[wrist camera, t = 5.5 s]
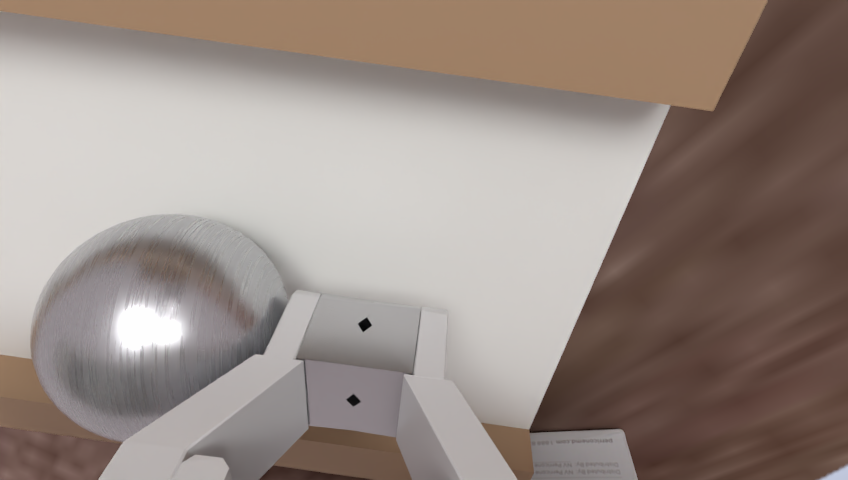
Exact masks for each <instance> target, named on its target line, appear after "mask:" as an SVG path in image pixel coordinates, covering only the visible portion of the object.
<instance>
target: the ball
mask: <svg viewBox="0 0 848 480" xmlns="http://www.w3.org/2000/svg"><path fill="white" fill-rule="evenodd" d="M288 302H289V301H288V297H287V293H286V289H285V286H284V284H283V281H282V279H281V276H280V274H279V272H278V271H277V269H276V267H275V266H274V264H273V263H272V261H271V260H270V259H269V257H268V256H267V255H266V254H265V253H264V251H263V250H262V249H261V248H260V247H258V246H257V245H256V244H255V243H254V242H253V241H252V240H250V239H249V238H248V237H246V236H245V235H243V234H242V233H240V232H239V231H237V230H235V229H233V228H231V227H229V226H227V225H225V224H222V223H219V222H217V221H214V220H211V219H207V218H203V217H198V216H194V215H184V214H159V215H151V216H145V217H140V218H136V219H132V220H129V221H126V222H122V223H119V224H117V225H114V226H112V227H110V228H108V229H106V230H104V231H102V232H100V233H98V234H96V235H94V236H93V237H91V238H90V239H88V240H87V241H85V242H84V243H82V244H81V245H80V246H78V247H77V248H76V249H75V250H74V251H73V252H72V253H71V254H69V255H68V256H67V257H66V258H65V259H64V260H63V261H62V262H61V263H60V265H59V266H58V267H57V268H56V270H55V271H54V272H53V274H52V275H51V277H50V278H49V280H48V281H47V283H46V284H45V286H44V288H43V290H42V292H41V294H40V296H39V299H38V301H37V304H36V307H35V311H34V314H33V319H32V324H31V334H30V349H31V357H32V361H33V365H34V368H35V371H36V374H37V376H38V379H39V382H40V384H41V386H42V388H43V389H44V391H45V393H46V394H47V395H48V397H49V398H50V400H51V401H52V402H53V403H54V405H55V406H56V407H57V408H58V409H59V410H60V411H61V412H62V413H63V414H64V415H66V416H67V417H68V418H69V419H70V420H72V421H73V422H74V423H76V424H77V425H79V426H81V427H82V428H84V429H86V430H88V431H90V432H92V433H94V434H96V435H99V436H102V437H105V438H107V439H110V440H114V441H119V442H124V441H125V440H127V439H128V438H130V437H131V436H133V435H134V434H136V433H137V432H139V431H140V430H142V429H143V428H145V427H146V426H148V425H149V424H151V423H152V422H154V421H155V420H157V419H158V418H160V417H161V416H163V415H164V414H166V413H167V412H169V411H170V410H172V409H173V408H175V407H176V406H178V405H179V404H181V403H182V402H184V401H185V400H187V399H188V398H190V397H191V396H193V395H194V394H196V393H197V392H199V391H200V390H202V389H203V388H205V387H206V386H208V385H209V384H211V383H212V382H214V381H215V380H217V379H218V378H220V377H221V376H223V375H224V374H226V373H227V372H229V371H230V370H232V369H233V368H235V367H236V366H238V365H239V364H241V363H242V362H244V361H245V360H247V359H248V358H250V357H251V356H253V355H254V354H259V355H263V354H264V352H265V350H266V348H267V346H268V344H269V342H270V340H271V337H272V335H273V333H274V331H275V329H276V327H277V325H278V323H279V321H280V318H281V316H282V314H283V312H284V310H285V308H286V306H287V304H288Z"/></svg>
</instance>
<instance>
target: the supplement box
mask: <svg viewBox="0 0 848 480" xmlns="http://www.w3.org/2000/svg"><path fill="white" fill-rule="evenodd" d="M530 441H531V450H532V459H533V468H534V474H533V476H532V478H531V480H638V478H637V475H636V472H635V468H634V465H633V461H632V458H631V454H630V451H629V448H628V445H627V441H626V437H625V433H624V431H623V430H621V429H605V430H582V431H561V432H540V433H530Z"/></svg>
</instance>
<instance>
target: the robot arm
mask: <svg viewBox="0 0 848 480" xmlns="http://www.w3.org/2000/svg"><path fill="white" fill-rule="evenodd" d="M420 311H421V312H420ZM448 316H449V313H448V311H447V310H446V309H437V308H429V307H422V308H421V307H419V306H411V305H403V304H395V303H387V302H379V301H370V300H363V299H357V298H351V297H344V296H338V295H332V294H325V293H323V294H321V293H315V292H309V291H303V290H296V291H295V292H294V293H293V294H292V295H291V297H290V300H289V302H288V304H287V306H286V308H285V310H284V312H283V314H282V316H281V318H280V321H279V323H278V325H277V327H276V329H275V331H274V333H273V335H272V337H271V340H270V342H269V344H268V346H267V348H266V350H265V352H264V354H263V355H259V354H254V355H253V356H251V357H250V358H248V359H247V360H245V361H244V362H242V363H241V364H239V365H238V366H236V367H235V368H233V369H232V370H230V371H229V372H227V373H226V374H224V375H223V376H221V377H220V378H218V379H217V380H215V381H214V382H212V383H211V384H209V385H208V386H206V387H205V388H203V389H202V390H200V391H199V392H197V393H196V394H194V395H193V396H191V397H190V398H188V399H187V400H185V401H184V402H182V403H181V404H179V405H178V406H176V407H175V408H173V409H172V410H170V411H169V412H167V413H166V414H164V415H163V416H161V417H160V418H158V419H157V420H155V421H154V422H152V423H151V424H149V425H148V426H146V427H145V428H143V429H142V430H140V431H139V432H137V433H136V434H134V435H133V436H131V437H130V438H128V439H127V440H125V441H124V442H123V443H122V445H121V446H120V448H119V449H118V451H117V452H116V454H115V455H114V457H113V458H112V460H111V461H110V463H109V464H108V466H107V467H106V469H105V470H104V472H103V473H102V475H101V476H100V478H99V479H98V480H259V479H260V478H261V477H262V476H263V475H264V474H265V473H266V472H267V471H268V470H269V469H270V468H271V467H272V466H273V465H274V464H275V463H276V462H277V460H278V459H279V458H280V457H281V456H282V455H283V454H284V453H285V452H286V451H287V450H288V449H289V448H290V447H291V446H292V445H293V444H294V443H295V442H296V441H297V440H298V439H299V438H300V437H301V436H302V435H303V434H304V433H305V432H306V431H307V430H308V426H316V427H326V428H335V429H344V430H353V431H359V432H365V433H371V434H378V435H384V436H390V437H396V441H397V444H398V446H399V449H400V451H401V454H402V456H403V458H404V461H405V463H406V466H407V468H408V471H409V473H410V476H411V478H412V480H517V478H516V476H515V475H514V473H513V472H512V470H511V469H510V467H509V466H508V464H507V463H506V461H505V460H504V458H503V456H502V455H501V453H500V452H499V450H498V449H497V447H496V446H495V444H494V443H493V441H492V440H491V438H490V436H489V435H488V433H487V432H486V430H485V429H484V427H483V426H482V424H481V423H480V421H479V420H478V418H477V416H476V415H475V413H474V412H473V410H472V409H471V407H470V406H469V404H468V403H467V401H466V400H465V398H464V397H463V395H462V393H461V392H460V390H459V389H458V387H457V386H456V384H455V383H454V381H451V380H445V373H446V354H447V335H448Z"/></svg>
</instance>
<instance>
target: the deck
mask: <svg viewBox="0 0 848 480" xmlns="http://www.w3.org/2000/svg"><path fill="white" fill-rule="evenodd" d="M767 1H768V0H0V427H7V428H14V429H21V430H28V431H35V432H42V433H49V434H56V435H63V436H70V437H77V438H84V439H91V440H98V441H105V442H112V443H119V444H122V443H123V442H119V441H114V440H110V439H107V438H105V437H102V436H99V435H96V434H94V433H92V432H90V431H88V430H86V429H84V428H82V427H81V426H79V425H77V424H76V423H74V422H73V421H72V420H70V419H69V418H68V417H67V416H66V415H64V414H63V413H62V412H61V411H60V410H59V409H58V408H57V407H56V406H55V405H54V403H53V402H52V401H51V400H50V398H49V397H48V395H47V394H46V393H45V391H44V389H43V388H42V386H41V384H40V382H39V379H38V376H37V374H36V371H35V368H34V365H33V361H32V357H31V349H30V334H31V324H32V319H33V314H34V311H35V307H36V304H37V301H38V299H39V296H40V294H41V292H42V290H43V288H44V286H45V284H46V283H47V281H48V280H49V278H50V277H51V275H52V274H53V272H54V271H55V270H56V268H57V267H58V266H59V265H60V263H61V262H62V261H63V260H64V259H65V258H66V257H67V256H68V255H69V254H71V253H72V252H73V251H74V250H75V249H76V248H77V247H78V246H80V245H81V244H82V243H84V242H85V241H87V240H88V239H90V238H91V237H93V236H94V235H96V234H98V233H100V232H102V231H104V230H106V229H108V228H110V227H112V226H114V225H117V224H119V223H122V222H126V221H129V220H132V219H136V218H140V217H145V216H151V215H159V214H184V215H194V216H198V217H203V218H207V219H211V220H214V221H217V222H219V223H222V224H225V225H227V226H229V227H231V228H233V229H235V230H237V231H239V232H240V233H242V234H243V235H245V236H246V237H248V238H249V239H250V240H252V241H253V242H254V243H255V244H256V245H257V246H258V247H260V248H261V249H262V250H263V251H264V253H265V254H266V255H267V256H268V257H269V259H270V260H271V261H272V263H273V264H274V266H275V267H276V269H277V271H278V272H279V274H280V276H281V279H282V281H283V284H284V286H285V289H286V293H287V297H288V301H289V300H290V297H291V295H292V294H293V293H294V292H295V291H296V290H303V291H309V292H315V293H321V294H323V293H325V294H332V295H338V296H344V297H351V298H357V299H363V300H370V301H379V302H387V303H395V304H403V305H411V306H419V307H421V308H422V307H429V308H437V309H446V310H447V311H448V313H449V316H448V335H447V354H446V373H445V380H451V381H454V383H455V384H456V386H457V387H458V389H459V390H460V392H461V393H462V395H463V397H464V398H465V400H466V401H467V403H468V404H469V406H470V407H471V409H472V410H473V412H474V413H475V415H476V416H477V418H478V420H479V421H480V423H481V424H482V426H483V427H484V429H485V430H486V432H487V433H488V435H489V436H490V438H491V440H492V441H493V443H494V444H495V446H496V447H497V449H498V450H499V452H500V453H501V455H502V456H503V458H504V460H505V461H506V463H507V464H508V466H509V467H510V469H511V470H512V472H513V473H514V475H515V476H516V478H517V480H531V478H532V476H533V474H534V468H533V459H532V450H531V441H530V432H529V429H530V427H531V424H532V422H533V420H534V417H535V415H536V413H537V411H538V408H539V406H540V404H541V401H542V399H543V397H544V394H545V392H546V390H547V388H548V385H549V383H550V381H551V378H552V376H553V374H554V372H555V369H556V367H557V365H558V362H559V360H560V358H561V356H562V353H563V351H564V349H565V346H566V344H567V342H568V339H569V337H570V335H571V333H572V330H573V328H574V326H575V323H576V321H577V319H578V317H579V314H580V312H581V310H582V307H583V305H584V303H585V301H586V298H587V296H588V294H589V291H590V289H591V287H592V284H593V282H594V280H595V278H596V275H597V273H598V271H599V268H600V266H601V264H602V262H603V259H604V257H605V255H606V252H607V250H608V248H609V246H610V243H611V241H612V239H613V236H614V234H615V232H616V229H617V227H618V225H619V223H620V220H621V218H622V216H623V213H624V211H625V209H626V207H627V204H628V202H629V200H630V197H631V195H632V193H633V191H634V188H635V186H636V184H637V181H638V179H639V177H640V174H641V172H642V170H643V168H644V165H645V163H646V161H647V158H648V156H649V154H650V152H651V149H652V147H653V145H654V142H655V140H656V138H657V136H658V133H659V131H660V129H661V126H662V124H663V122H664V119H665V117H666V115H667V113H668V110H669V108H670V106H671V105H673V106H680V107H687V108H694V109H701V110H708V111H713V110H714V108H715V106H716V104H717V102H718V100H719V98H720V96H721V94H722V92H723V90H724V88H725V86H726V84H727V82H728V80H729V78H730V76H731V74H732V72H733V70H734V68H735V66H736V64H737V62H738V60H739V58H740V56H741V54H742V52H743V50H744V48H745V46H746V44H747V42H748V40H749V38H750V36H751V34H752V32H753V30H754V28H755V26H756V24H757V21H758V19H759V17H760V15H761V13H762V11H763V9H764V7H765V5H766V3H767ZM420 312H421V311H420ZM274 466H281V467H288V468H295V469H302V470H309V471H316V472H323V473H330V474H337V475H344V476H351V477H358V478H365V479H372V480H412V478H411V476H410V473H409V471H408V468H407V466H406V463H405V461H404V458H403V456H402V454H401V451H400V449H399V446H398V444H397V441H396V437H390V436H384V435H378V434H371V433H365V432H359V431H353V430H344V429H335V428H326V427H316V426H308V430H307V431H306V432H305V433H304V434H303V435H302V436H301V437H300V438H299V439H298V440H297V441H296V442H295V443H294V444H293V445H292V446H291V447H290V448H289V449H288V450H287V451H286V452H285V453H284V454H283V455H282V456H281V457H280V458H279V459H278V460H277V462H276V463H275V464H274Z"/></svg>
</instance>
